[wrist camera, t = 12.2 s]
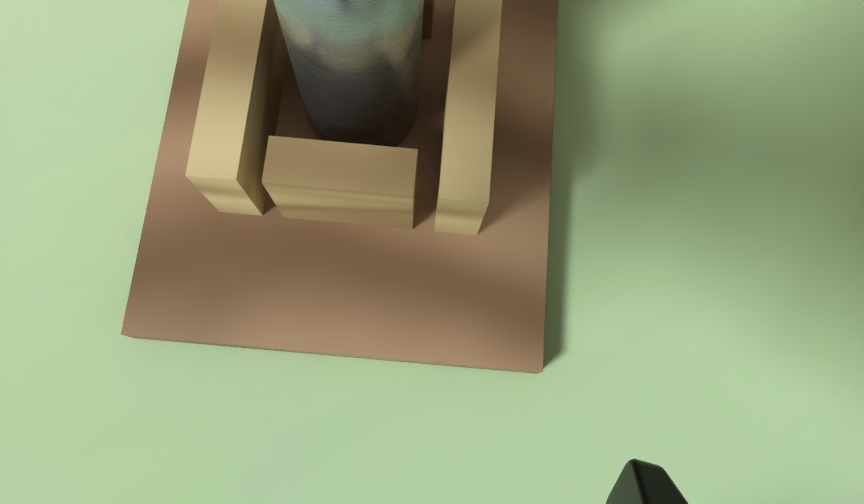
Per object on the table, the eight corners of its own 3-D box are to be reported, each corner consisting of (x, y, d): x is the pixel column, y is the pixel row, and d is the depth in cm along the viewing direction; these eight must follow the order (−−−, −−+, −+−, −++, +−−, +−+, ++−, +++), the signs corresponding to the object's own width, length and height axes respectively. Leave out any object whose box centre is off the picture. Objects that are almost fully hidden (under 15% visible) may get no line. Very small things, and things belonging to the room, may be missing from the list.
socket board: (537, 373, 22) (567, 363, 18) (133, 337, 22) (65, 319, 18) (555, -64, 27) (584, -157, 22) (220, -96, 27) (183, -196, 22)
